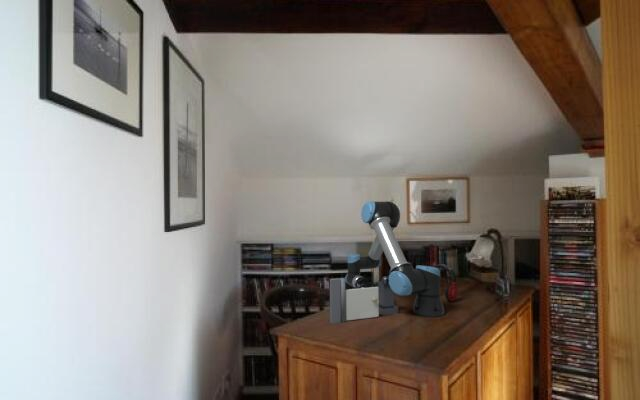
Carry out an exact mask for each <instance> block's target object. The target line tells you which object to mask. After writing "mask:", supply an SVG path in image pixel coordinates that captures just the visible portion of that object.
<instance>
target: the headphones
mask: <svg viewBox="0 0 640 400" xmlns="http://www.w3.org/2000/svg"><path fill="white" fill-rule="evenodd" d="M432 267H435V268H438V269H440V268H442V269H444V270H445V271H446V272H447V273H448V274H449V276H450V278H451V283H449V284H447V286H446V287H445V291H444V295H445V296H444V297H445V299H446V300H447V301H448V302H452V301H453V302H454V301H455V300H456V299H457V297H458V296H459V295H458V294H459V291H458V287H457V286H458V283H457V277H456V276H457V275H456V274H455V271H454V270H453V269H452V267H450V266H448V265H447V264H444V263H443V264H442V263H440V264H435V265H433V266H432Z"/></svg>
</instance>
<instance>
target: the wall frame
mask: <svg viewBox="0 0 640 400" xmlns="http://www.w3.org/2000/svg"><path fill="white" fill-rule="evenodd" d="M345 290H346V281H345V277H340V278H339V277H337V278H329V322H330V324H332V325H333V324H339V323H346V321H347V320H346V303H345Z"/></svg>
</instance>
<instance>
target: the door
mask: <svg viewBox="0 0 640 400" xmlns="http://www.w3.org/2000/svg"><path fill="white" fill-rule="evenodd" d="M345 307H346V321H353V320H363V319H370V318H377V317H380V316H379V315H380V313H379V301H378V287H373V286H372V287H370V288H359V289H355V288H349V289H345Z"/></svg>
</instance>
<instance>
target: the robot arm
mask: <svg viewBox="0 0 640 400" xmlns="http://www.w3.org/2000/svg"><path fill="white" fill-rule="evenodd" d="M360 217H361V220H362V222H363V223H365V224H368V225H369V227H370V229H371V230H374V233H375V234H376V235H375V238H374V239H373V242H372V245H371V247H370V249H369V251H368V253H367V255H365V256H361V255H360V254H359V253H350V254H348V255H347V274H346V275H345V277H344V278H345V284H347V285H349V286H350V287H352V288H353V289H359V288H370V287H378V281H377V282H376V281H374V282H370V281H369V279H368V278H367V277H364V276H361V270H367V269H376V268H377V269H378V268H380V267H381V266H382V258H381V257H382V255H383V253H384V256H385V259H386V260H387V263H388V266H389V267H390V270H389V275H388V277H389V285H390V288H391V289H392V291H393V292H394V295H398V296H409V295H415V296H416V297H415V300H414V303H413V305H412V312H413V313H414V314H416V315H418V316H422V317H430V318H433V317H434V318H435V317H441V316H444V315H445V308H444V305H443V302H442V299H441V298H442V297H441V277H442V276H441V270H440V268H435V267H433V266H429V265H428V266H427V265H418V264H417V265H416V266H415V268H414V266H413V265H412V263H410V262H408V261H407V259H406V257H405V255H404V252H403V250H402V249H401V247H400V244H399V241H398V238H397V237H396V236H395V233H394V229H395V228H397V227H398V225H399V223H400V219H401V212H400V209H399V206H397V204H396V203H394V202H393V201H386V200H385V201H374V200H373V201H366V202H365V203H364V204H363V206H362V207H361V213H360Z"/></svg>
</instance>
